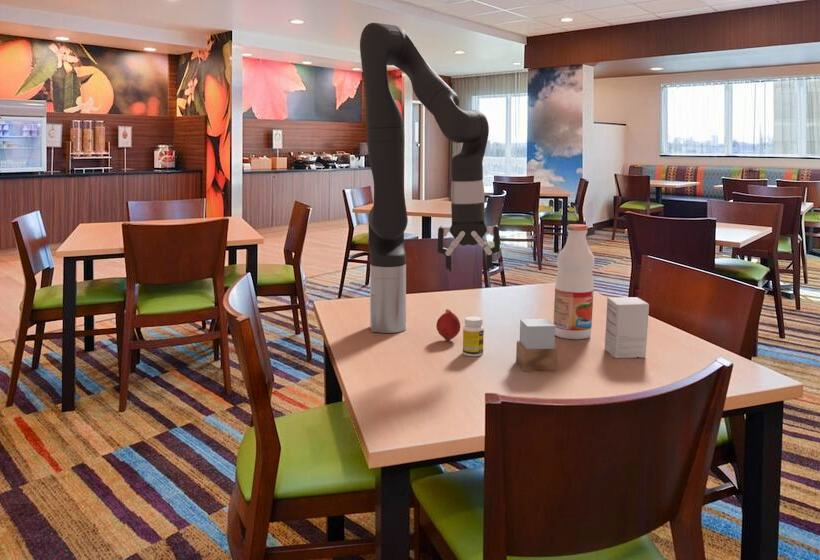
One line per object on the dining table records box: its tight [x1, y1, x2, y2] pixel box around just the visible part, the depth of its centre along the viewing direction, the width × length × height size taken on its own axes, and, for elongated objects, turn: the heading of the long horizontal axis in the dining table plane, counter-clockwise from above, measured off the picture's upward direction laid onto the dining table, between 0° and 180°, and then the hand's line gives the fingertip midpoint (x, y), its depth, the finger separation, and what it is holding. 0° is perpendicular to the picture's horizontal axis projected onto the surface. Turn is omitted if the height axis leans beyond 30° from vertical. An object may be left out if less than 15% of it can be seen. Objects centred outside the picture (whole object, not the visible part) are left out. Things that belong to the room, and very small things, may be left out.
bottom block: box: [515, 340, 558, 373], centre depth 145 cm, size 7×7×5 cm
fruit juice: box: [553, 223, 596, 340], centre depth 167 cm, size 9×9×28 cm
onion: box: [435, 308, 461, 342], centre depth 164 cm, size 6×6×8 cm
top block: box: [519, 318, 556, 349], centre depth 144 cm, size 6×6×5 cm
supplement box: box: [604, 296, 650, 359], centre depth 153 cm, size 7×7×13 cm
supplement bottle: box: [462, 316, 485, 357], centre depth 153 cm, size 5×5×8 cm
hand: (469, 270), depth 155 cm, fingers open, 8 cm apart
